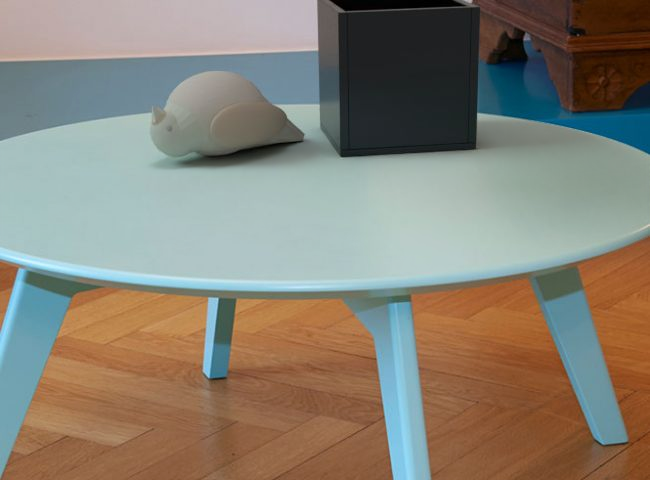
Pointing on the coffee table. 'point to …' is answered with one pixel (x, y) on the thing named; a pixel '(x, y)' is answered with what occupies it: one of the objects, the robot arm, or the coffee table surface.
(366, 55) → the dark grey square box
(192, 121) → the decorative bird
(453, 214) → the coffee table surface
